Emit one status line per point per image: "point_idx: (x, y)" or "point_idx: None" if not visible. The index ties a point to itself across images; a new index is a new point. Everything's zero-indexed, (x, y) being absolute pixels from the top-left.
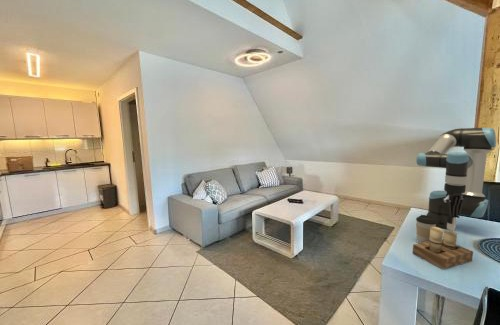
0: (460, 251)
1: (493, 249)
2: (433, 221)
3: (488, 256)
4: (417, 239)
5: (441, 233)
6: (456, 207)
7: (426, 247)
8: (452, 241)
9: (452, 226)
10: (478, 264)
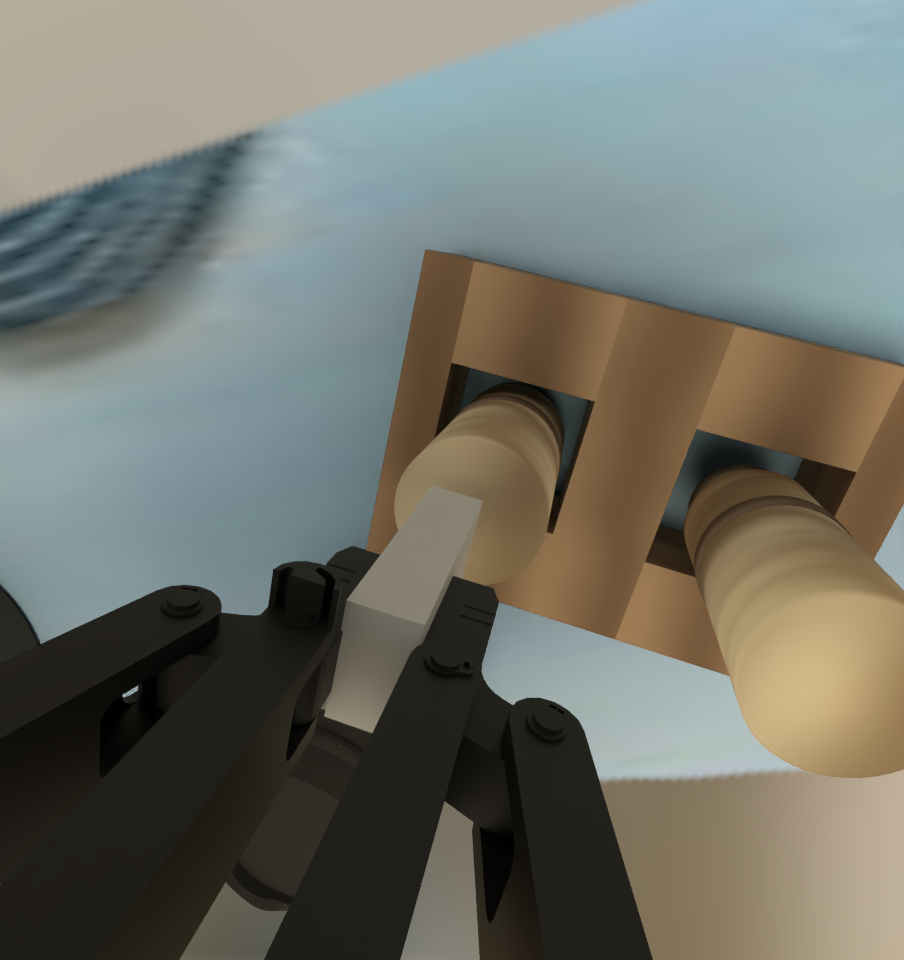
0: (548, 334)
1: (34, 217)
2: (310, 754)
3: (218, 196)
4: None
5: (891, 586)
6: (156, 876)
7: None
8: (539, 438)
9: (468, 541)
10: (477, 195)
